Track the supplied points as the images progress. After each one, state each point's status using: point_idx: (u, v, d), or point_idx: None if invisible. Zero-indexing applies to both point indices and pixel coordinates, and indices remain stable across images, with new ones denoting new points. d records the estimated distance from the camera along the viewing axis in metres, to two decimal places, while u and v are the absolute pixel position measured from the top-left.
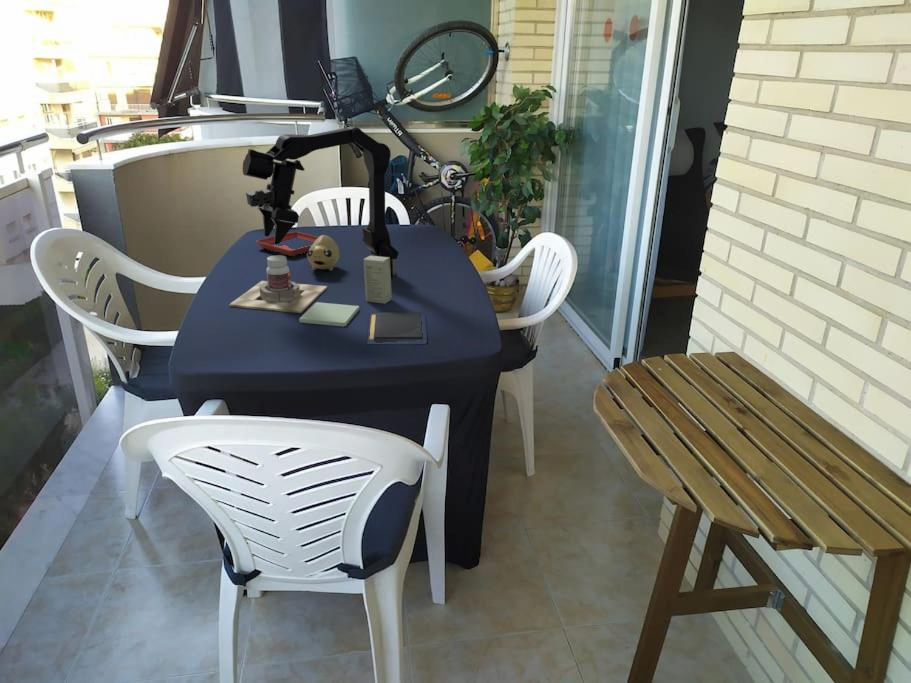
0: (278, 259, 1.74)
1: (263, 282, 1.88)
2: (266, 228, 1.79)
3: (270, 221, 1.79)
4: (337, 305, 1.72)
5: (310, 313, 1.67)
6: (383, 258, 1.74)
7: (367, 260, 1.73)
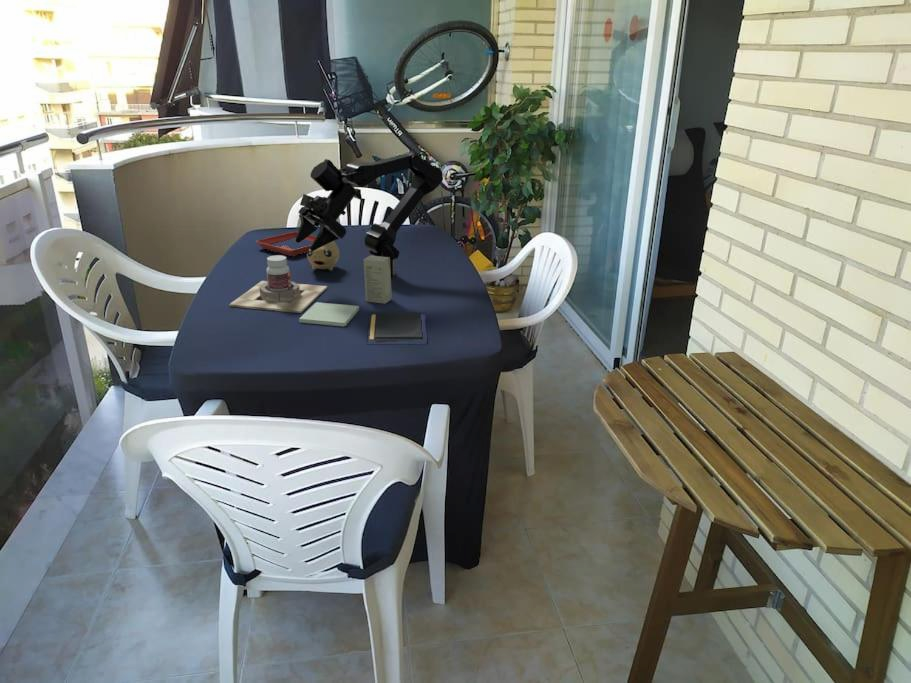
0: (278, 259, 1.74)
1: (263, 282, 1.88)
2: (300, 235, 1.82)
3: (306, 231, 1.83)
4: (337, 305, 1.72)
5: (310, 313, 1.67)
6: (383, 258, 1.74)
7: (367, 260, 1.73)
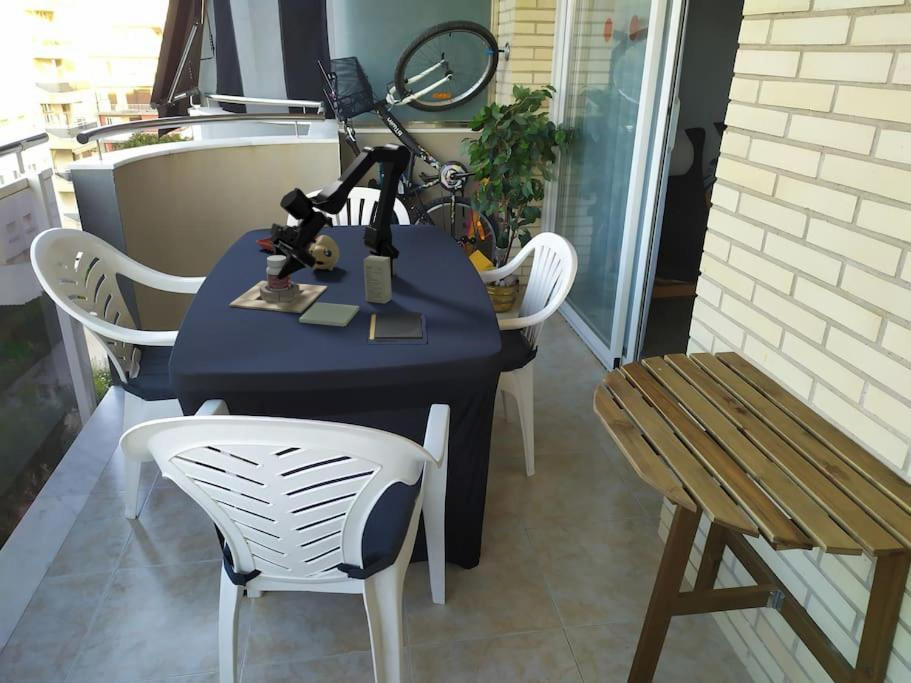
0: (278, 259, 1.74)
1: (263, 282, 1.88)
2: None
3: None
4: (337, 305, 1.72)
5: (310, 313, 1.67)
6: (383, 258, 1.74)
7: (367, 260, 1.73)
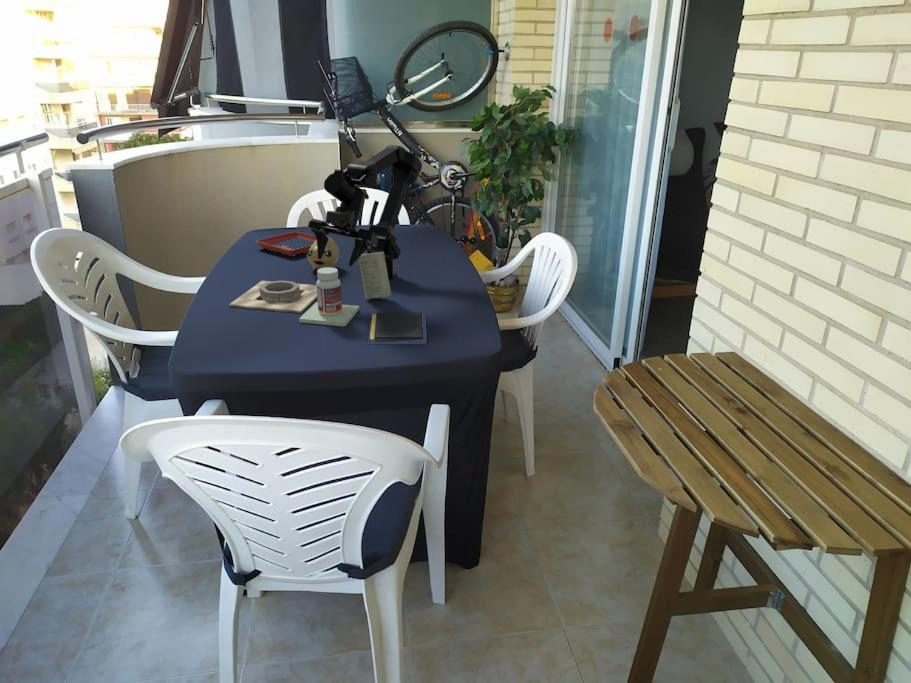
0: (332, 271, 1.63)
1: (263, 282, 1.88)
2: (321, 251, 1.75)
3: (323, 244, 1.76)
4: None
5: (310, 313, 1.67)
6: None
7: (361, 256, 1.75)
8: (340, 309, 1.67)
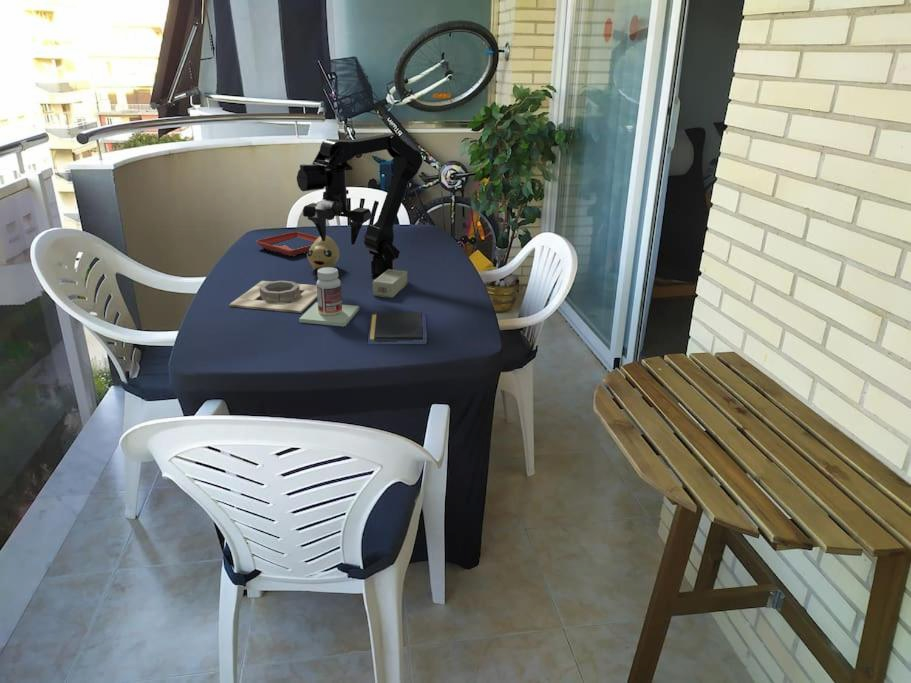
0: (333, 271, 1.63)
1: (263, 282, 1.88)
2: (323, 233, 1.84)
3: (323, 226, 1.84)
4: None
5: (310, 313, 1.67)
6: None
7: (391, 269, 1.91)
8: (340, 309, 1.67)
